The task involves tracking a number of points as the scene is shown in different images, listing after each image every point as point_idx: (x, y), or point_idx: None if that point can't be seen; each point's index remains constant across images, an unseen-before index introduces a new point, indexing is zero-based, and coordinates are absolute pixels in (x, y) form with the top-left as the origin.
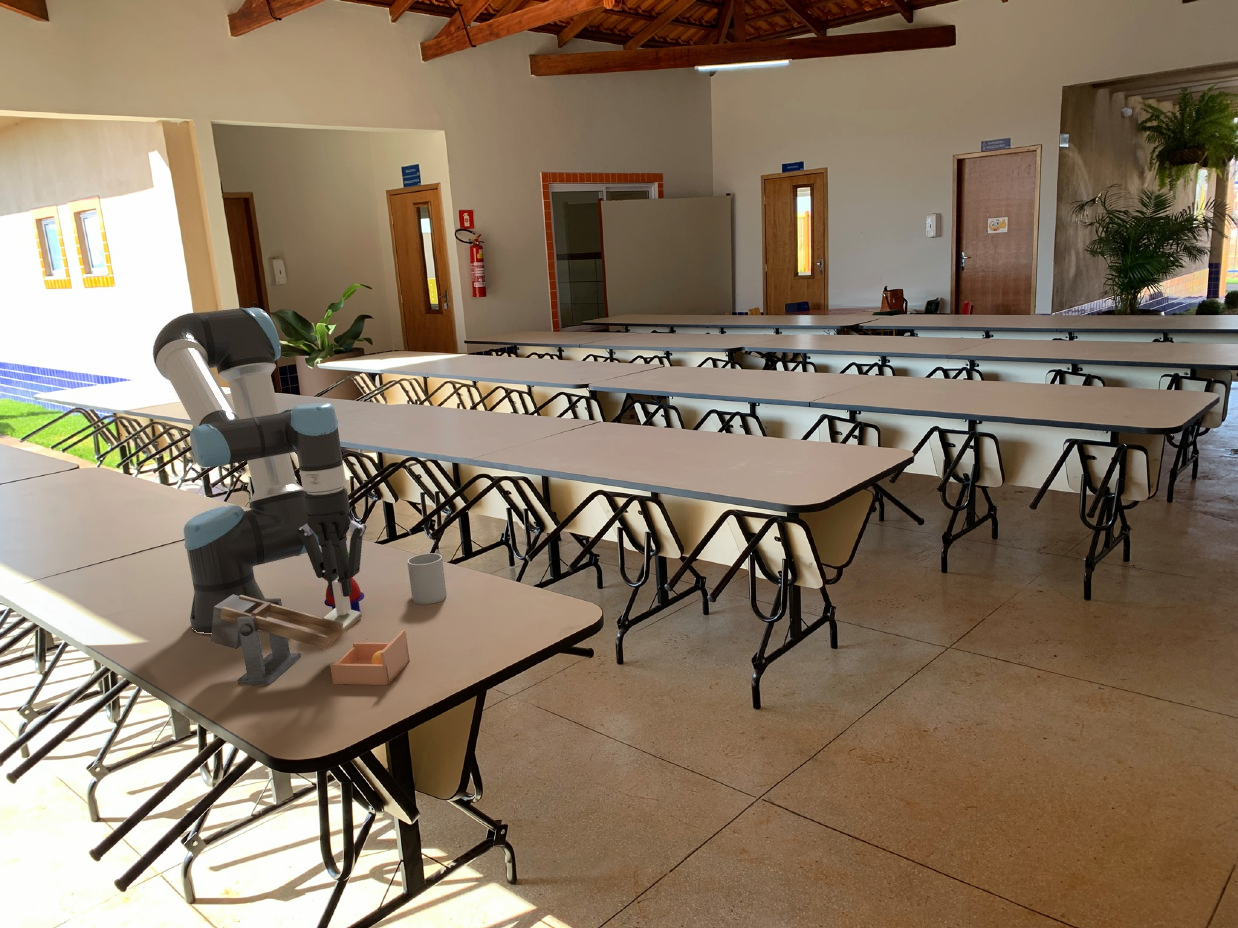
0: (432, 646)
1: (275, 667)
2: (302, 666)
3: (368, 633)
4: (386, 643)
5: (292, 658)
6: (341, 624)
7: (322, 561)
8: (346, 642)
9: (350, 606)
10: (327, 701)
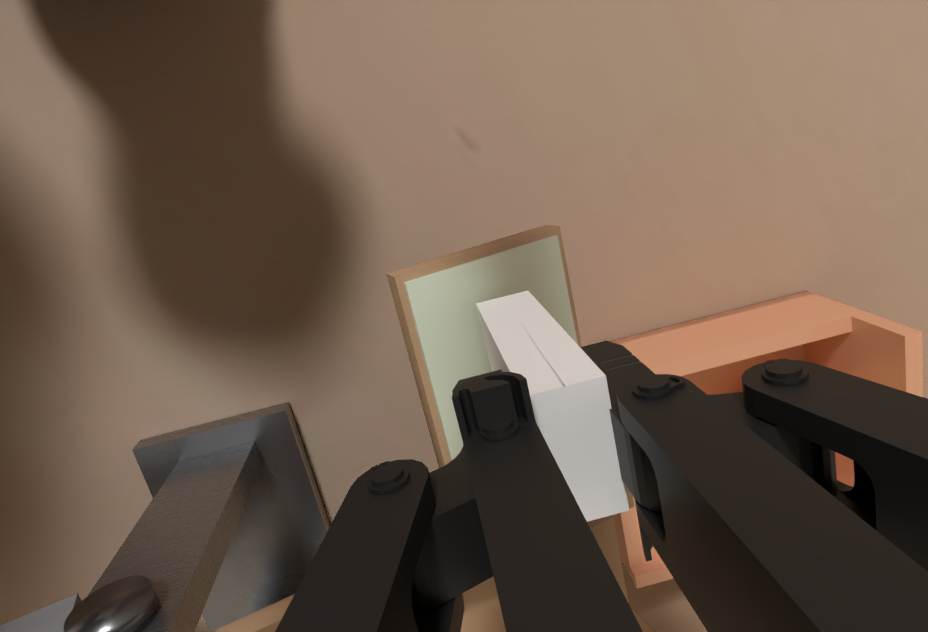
0: (842, 133)
1: (291, 547)
2: (371, 467)
3: (430, 76)
4: (768, 346)
5: (294, 462)
6: (630, 502)
7: (411, 618)
8: (390, 207)
9: (533, 298)
10: (669, 629)
